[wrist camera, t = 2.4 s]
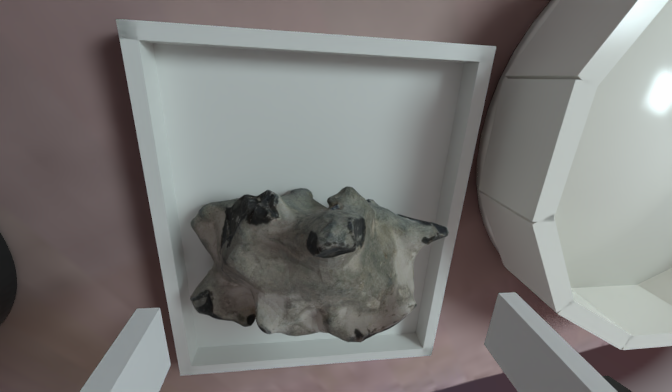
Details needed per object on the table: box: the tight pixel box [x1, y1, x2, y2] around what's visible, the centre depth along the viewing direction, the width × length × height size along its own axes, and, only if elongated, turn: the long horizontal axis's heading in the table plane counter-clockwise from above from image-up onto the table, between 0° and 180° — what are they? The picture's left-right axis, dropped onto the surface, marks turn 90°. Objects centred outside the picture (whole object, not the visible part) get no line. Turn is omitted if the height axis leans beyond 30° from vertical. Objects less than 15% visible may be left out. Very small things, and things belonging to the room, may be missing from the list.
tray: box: [116, 19, 496, 376], centre depth 20 cm, size 19×22×2 cm
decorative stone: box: [190, 186, 449, 342], centre depth 17 cm, size 16×9×10 cm, turn 105°
